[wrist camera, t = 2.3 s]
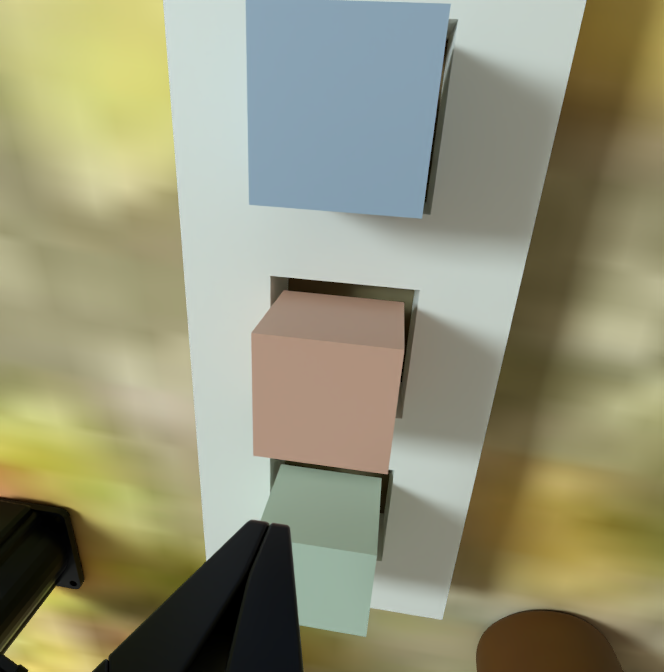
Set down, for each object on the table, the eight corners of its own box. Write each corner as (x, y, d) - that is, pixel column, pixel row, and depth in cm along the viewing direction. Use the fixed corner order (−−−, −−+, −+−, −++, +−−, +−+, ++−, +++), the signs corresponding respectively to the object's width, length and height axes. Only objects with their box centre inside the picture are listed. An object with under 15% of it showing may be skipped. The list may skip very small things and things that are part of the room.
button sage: (372, 552, 22) (365, 636, 18) (280, 537, 22) (256, 617, 18) (381, 478, 20) (376, 555, 16) (281, 464, 20) (254, 536, 17)
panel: (438, 567, 25) (442, 620, 23) (227, 534, 27) (207, 580, 24) (576, -85, 14) (618, -138, 11) (197, -89, 15) (152, -138, 13)
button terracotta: (390, 406, 18) (387, 474, 15) (282, 393, 19) (253, 455, 15) (403, 302, 16) (404, 349, 13) (283, 290, 17) (251, 333, 13)
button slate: (417, 197, 15) (421, 218, 11) (284, 187, 15) (249, 205, 12) (437, 39, 13) (450, 3, 10) (287, 33, 14) (245, -3, 10)
